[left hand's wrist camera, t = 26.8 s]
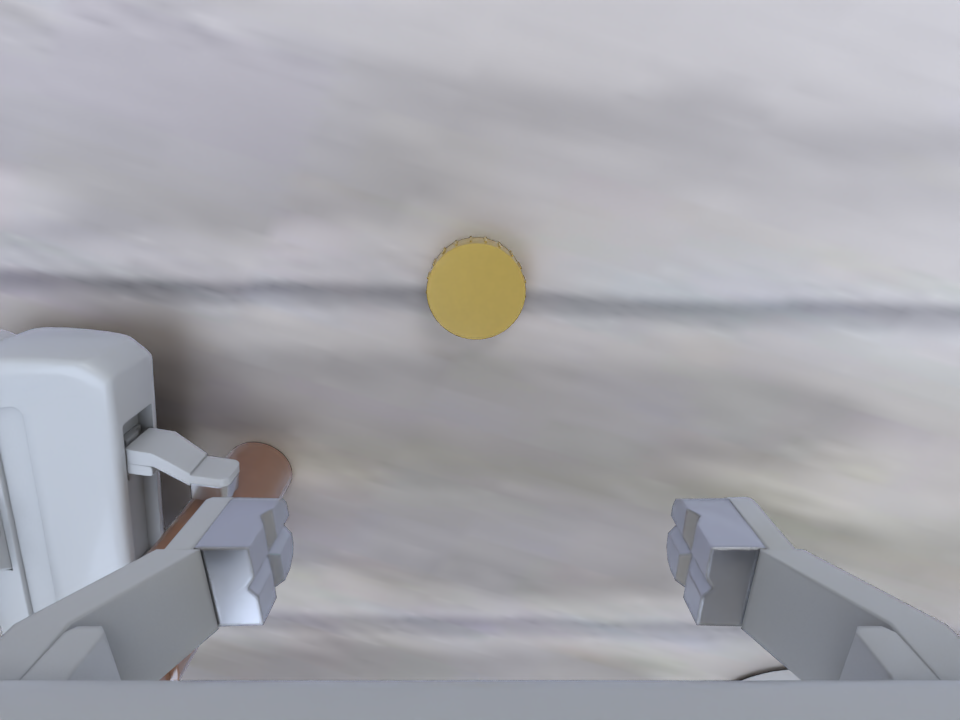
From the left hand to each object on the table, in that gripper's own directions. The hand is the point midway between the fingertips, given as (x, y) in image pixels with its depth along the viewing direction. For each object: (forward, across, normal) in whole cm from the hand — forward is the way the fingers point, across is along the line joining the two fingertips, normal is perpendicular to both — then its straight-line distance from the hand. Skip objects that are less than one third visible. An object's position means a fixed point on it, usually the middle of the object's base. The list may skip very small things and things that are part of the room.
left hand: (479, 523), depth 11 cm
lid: (+18, 0, -1) cm, 18 cm away
